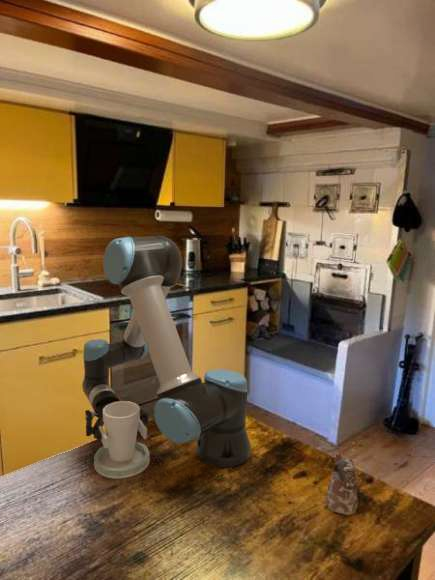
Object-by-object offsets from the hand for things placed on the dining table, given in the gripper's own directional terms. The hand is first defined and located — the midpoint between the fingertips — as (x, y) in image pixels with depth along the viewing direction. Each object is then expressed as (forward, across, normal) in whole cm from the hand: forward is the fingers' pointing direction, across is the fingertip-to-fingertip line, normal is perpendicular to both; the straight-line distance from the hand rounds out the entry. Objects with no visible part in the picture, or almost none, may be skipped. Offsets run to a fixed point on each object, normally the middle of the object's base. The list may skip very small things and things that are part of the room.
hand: (126, 438), depth 109 cm
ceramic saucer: (-4, 0, -9) cm, 10 cm away
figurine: (+34, -41, -9) cm, 54 cm away
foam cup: (-4, 0, -7) cm, 8 cm away
